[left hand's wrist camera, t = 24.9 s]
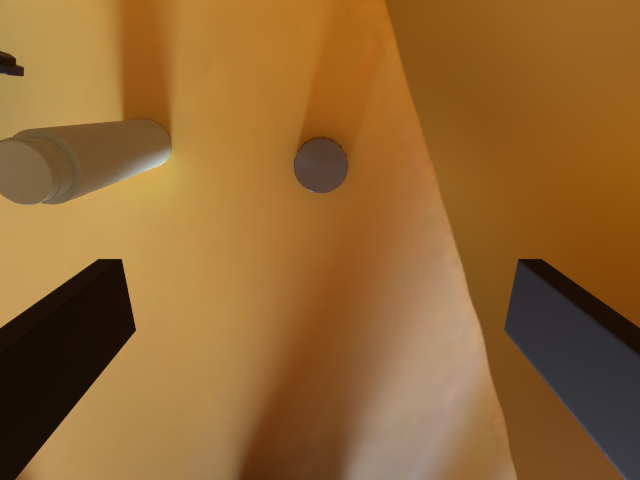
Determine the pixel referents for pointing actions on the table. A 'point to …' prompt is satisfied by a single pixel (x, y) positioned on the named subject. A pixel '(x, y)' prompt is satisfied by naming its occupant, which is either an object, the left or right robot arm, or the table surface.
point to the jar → (78, 159)
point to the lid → (320, 165)
